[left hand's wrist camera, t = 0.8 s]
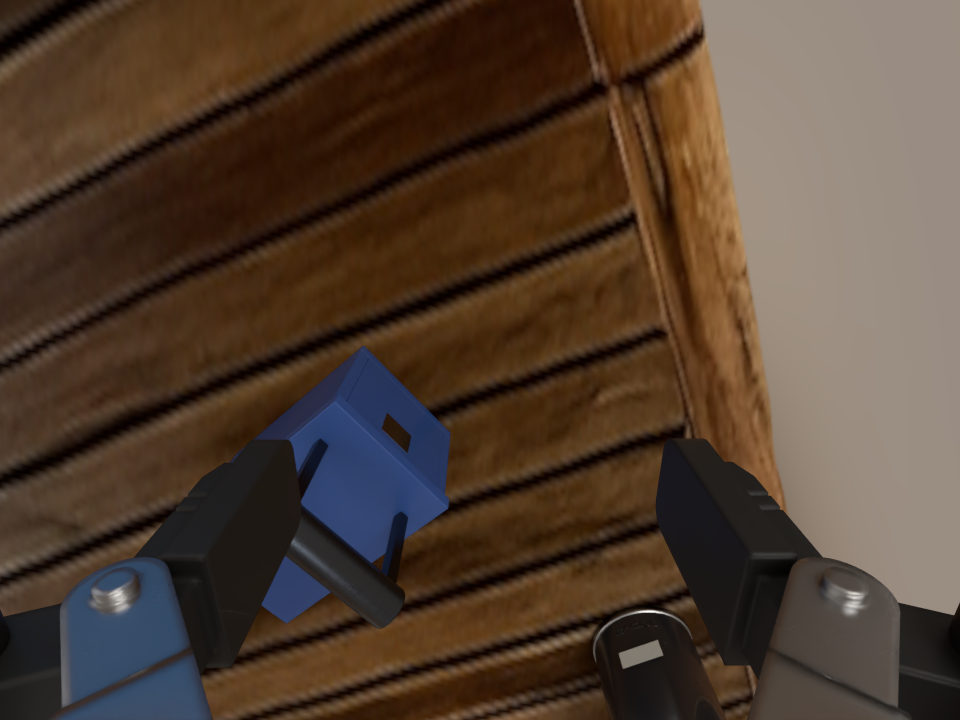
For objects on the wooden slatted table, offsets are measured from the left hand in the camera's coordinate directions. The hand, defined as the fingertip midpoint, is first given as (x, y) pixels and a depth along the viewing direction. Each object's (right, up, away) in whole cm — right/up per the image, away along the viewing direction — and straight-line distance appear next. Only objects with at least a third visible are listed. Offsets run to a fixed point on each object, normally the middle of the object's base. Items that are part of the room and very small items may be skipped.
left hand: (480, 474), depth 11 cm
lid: (-11, -8, +23) cm, 27 cm away
